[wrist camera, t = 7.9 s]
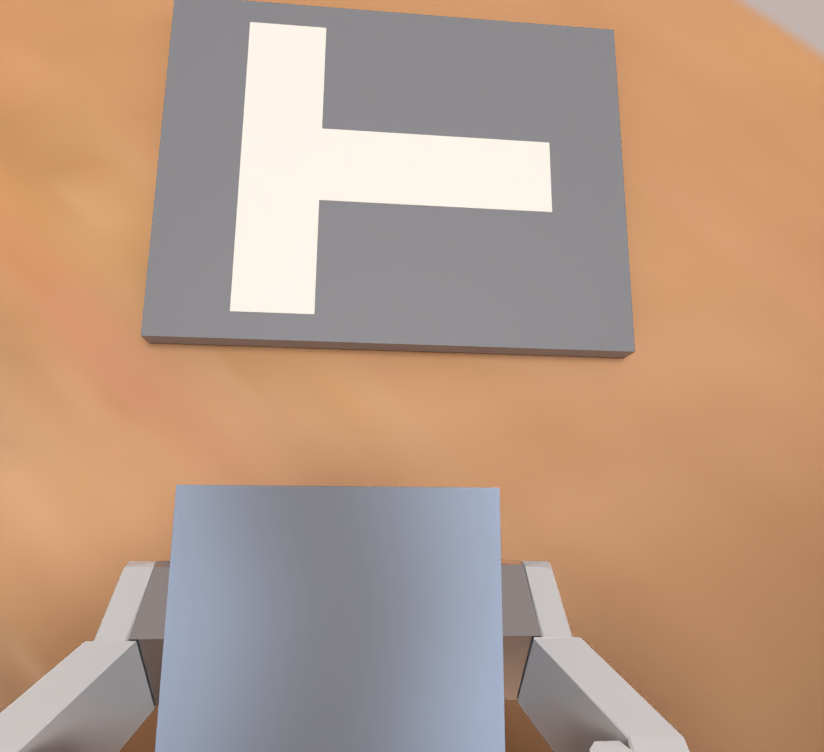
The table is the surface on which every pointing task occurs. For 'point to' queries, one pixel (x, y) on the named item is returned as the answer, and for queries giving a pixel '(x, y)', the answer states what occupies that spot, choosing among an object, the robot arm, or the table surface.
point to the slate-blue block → (333, 620)
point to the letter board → (388, 184)
